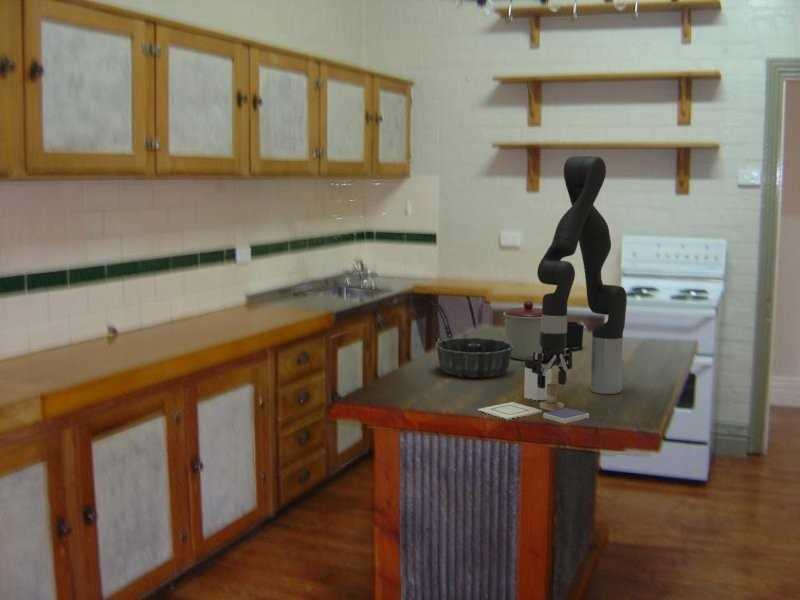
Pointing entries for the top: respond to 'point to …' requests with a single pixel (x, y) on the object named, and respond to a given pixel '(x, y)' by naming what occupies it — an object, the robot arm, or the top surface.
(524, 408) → the sheet
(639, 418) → the top surface
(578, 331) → the pen holder
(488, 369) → the bundt pan
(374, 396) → the top surface
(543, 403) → the stamp
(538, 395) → the jar
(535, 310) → the canister
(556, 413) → the ink pad
